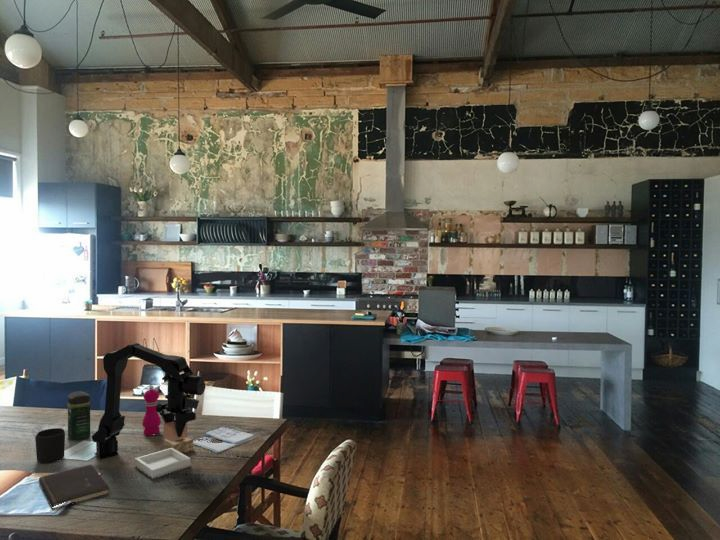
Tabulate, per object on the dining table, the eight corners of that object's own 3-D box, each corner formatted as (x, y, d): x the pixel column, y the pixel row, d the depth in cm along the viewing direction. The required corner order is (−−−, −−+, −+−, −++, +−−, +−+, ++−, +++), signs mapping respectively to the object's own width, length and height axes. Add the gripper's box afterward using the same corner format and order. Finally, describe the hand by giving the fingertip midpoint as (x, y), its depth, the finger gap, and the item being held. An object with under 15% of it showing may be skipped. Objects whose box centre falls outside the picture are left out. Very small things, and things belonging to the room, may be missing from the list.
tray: (152, 478, 176) (152, 470, 176) (134, 466, 185) (134, 458, 185) (190, 466, 186) (190, 458, 186) (172, 455, 196) (171, 447, 195)
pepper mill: (148, 437, 213) (148, 389, 212) (139, 433, 218) (138, 386, 217) (164, 432, 219) (163, 385, 218) (154, 428, 224) (154, 382, 223)
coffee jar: (92, 438, 212) (92, 393, 211) (70, 443, 207) (70, 397, 206) (87, 431, 219) (86, 388, 218) (66, 436, 214) (65, 391, 213)
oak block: (174, 456, 195) (174, 445, 195) (163, 450, 200) (163, 439, 200) (193, 450, 201) (193, 439, 201) (182, 445, 206) (182, 434, 206)
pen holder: (71, 455, 194) (71, 429, 194) (50, 466, 185) (49, 438, 185) (51, 452, 197) (50, 427, 196) (29, 462, 188) (28, 435, 187)
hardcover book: (91, 470, 183) (91, 464, 183) (109, 495, 166) (109, 488, 165) (39, 483, 173) (38, 477, 173) (52, 511, 155) (52, 503, 155)
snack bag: (255, 439, 214) (255, 434, 214) (217, 455, 197) (217, 450, 197) (223, 430, 225) (223, 425, 224) (185, 444, 208) (185, 439, 208)
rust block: (171, 441, 185) (171, 427, 184) (163, 437, 189) (163, 423, 188) (187, 437, 189) (187, 423, 189) (178, 432, 193) (178, 419, 193)
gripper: (209, 393, 188) (208, 435, 188) (183, 383, 200) (182, 422, 201) (181, 400, 179) (180, 444, 180) (155, 388, 192) (154, 429, 193)
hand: (175, 434), depth 189 cm, fingers closed on rust block, 6 cm apart
